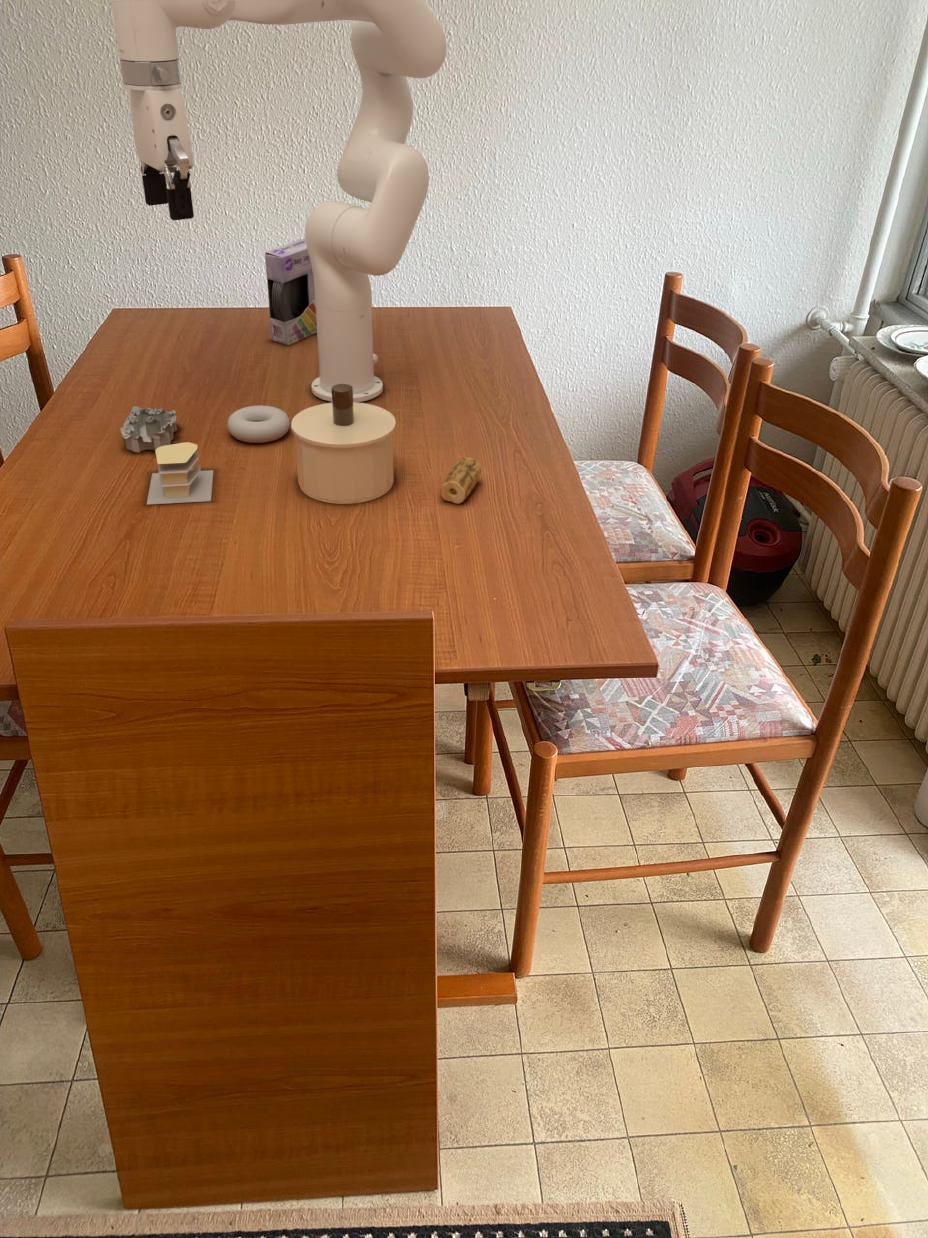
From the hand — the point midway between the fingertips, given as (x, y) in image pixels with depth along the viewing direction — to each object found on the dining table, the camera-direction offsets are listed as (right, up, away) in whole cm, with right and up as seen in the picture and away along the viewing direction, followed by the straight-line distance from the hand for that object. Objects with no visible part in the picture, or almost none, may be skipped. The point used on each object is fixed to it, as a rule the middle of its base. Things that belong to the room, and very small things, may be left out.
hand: (169, 211), depth 145 cm
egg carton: (-9, -29, +20) cm, 36 cm away
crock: (+24, -37, +9) cm, 45 cm away
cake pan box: (+10, +1, +64) cm, 64 cm away
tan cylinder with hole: (+41, -39, +8) cm, 57 cm away
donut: (+8, -27, +23) cm, 36 cm away
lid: (+24, -29, +4) cm, 38 cm away
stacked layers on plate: (0, -38, +7) cm, 39 cm away
